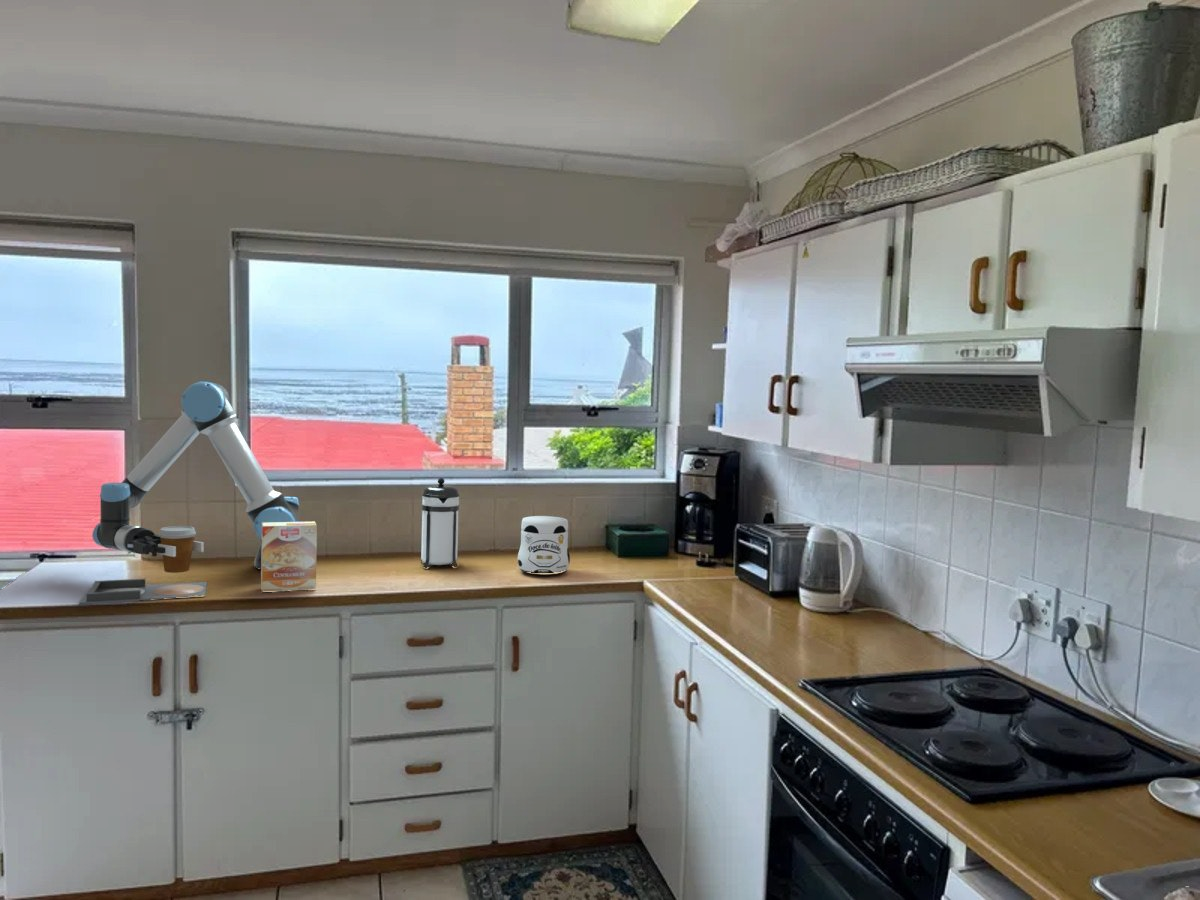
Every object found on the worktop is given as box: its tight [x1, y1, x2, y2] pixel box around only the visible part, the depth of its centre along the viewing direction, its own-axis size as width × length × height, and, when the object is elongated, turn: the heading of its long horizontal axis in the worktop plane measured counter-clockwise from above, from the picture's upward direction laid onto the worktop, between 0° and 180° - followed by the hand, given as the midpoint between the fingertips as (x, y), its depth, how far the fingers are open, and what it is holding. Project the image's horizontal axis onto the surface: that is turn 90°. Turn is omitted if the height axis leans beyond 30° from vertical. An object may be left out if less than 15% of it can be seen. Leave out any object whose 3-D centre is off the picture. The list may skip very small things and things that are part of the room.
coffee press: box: [420, 477, 461, 568], centre depth 288 cm, size 17×16×30 cm
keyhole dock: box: [79, 578, 208, 606], centre depth 237 cm, size 30×17×3 cm, turn 113°
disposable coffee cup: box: [157, 525, 197, 574], centre depth 239 cm, size 10×10×12 cm
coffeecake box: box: [260, 521, 318, 592], centre depth 248 cm, size 15×7×20 cm, turn 114°
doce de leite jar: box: [517, 515, 571, 573], centre depth 282 cm, size 17×17×18 cm
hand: (188, 549), depth 237 cm, fingers closed on disposable coffee cup, 8 cm apart
